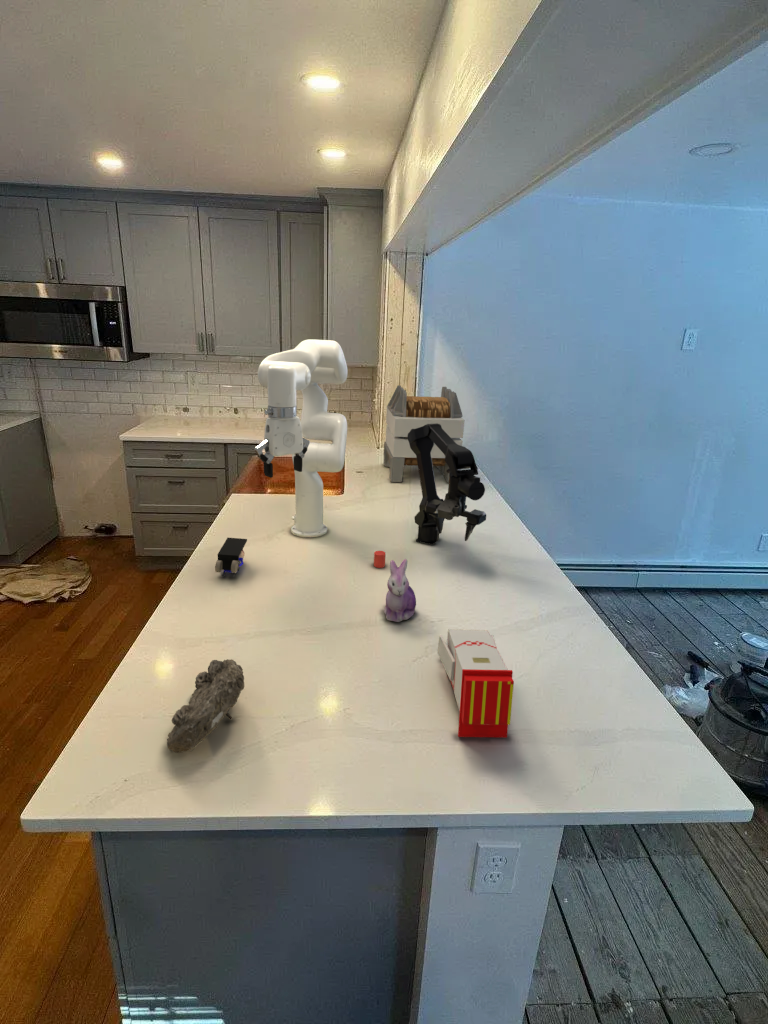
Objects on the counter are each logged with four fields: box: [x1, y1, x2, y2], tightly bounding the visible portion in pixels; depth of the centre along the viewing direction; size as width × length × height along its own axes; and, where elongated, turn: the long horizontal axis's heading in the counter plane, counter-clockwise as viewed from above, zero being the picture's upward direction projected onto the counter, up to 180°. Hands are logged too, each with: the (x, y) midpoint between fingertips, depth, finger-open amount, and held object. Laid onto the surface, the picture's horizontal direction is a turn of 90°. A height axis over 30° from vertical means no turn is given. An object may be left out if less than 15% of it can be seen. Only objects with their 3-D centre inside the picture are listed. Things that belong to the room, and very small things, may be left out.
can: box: [373, 550, 387, 569], centre depth 174 cm, size 4×4×4 cm
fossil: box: [166, 658, 245, 754], centre depth 106 cm, size 22×10×15 cm
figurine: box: [384, 558, 417, 623], centre depth 145 cm, size 9×10×15 cm
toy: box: [437, 628, 515, 738], centre depth 117 cm, size 12×13×30 cm
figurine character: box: [214, 537, 248, 578], centre depth 166 cm, size 7×8×15 cm
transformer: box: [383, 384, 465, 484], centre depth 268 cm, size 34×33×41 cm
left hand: (283, 473), depth 158 cm, fingers open, 9 cm apart
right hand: (452, 537), depth 180 cm, fingers open, 9 cm apart
